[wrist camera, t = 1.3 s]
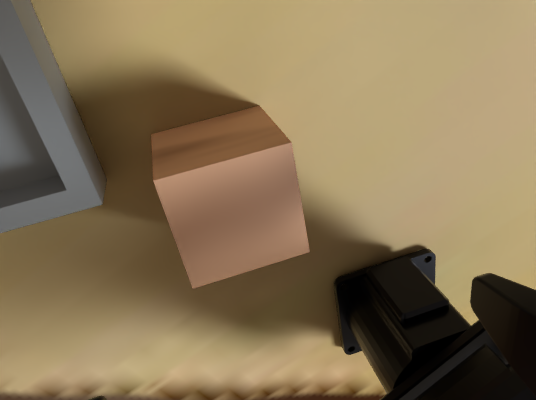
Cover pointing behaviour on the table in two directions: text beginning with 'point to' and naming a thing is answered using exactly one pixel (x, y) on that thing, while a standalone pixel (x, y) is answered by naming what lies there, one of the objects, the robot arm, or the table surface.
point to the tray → (39, 129)
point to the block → (229, 194)
